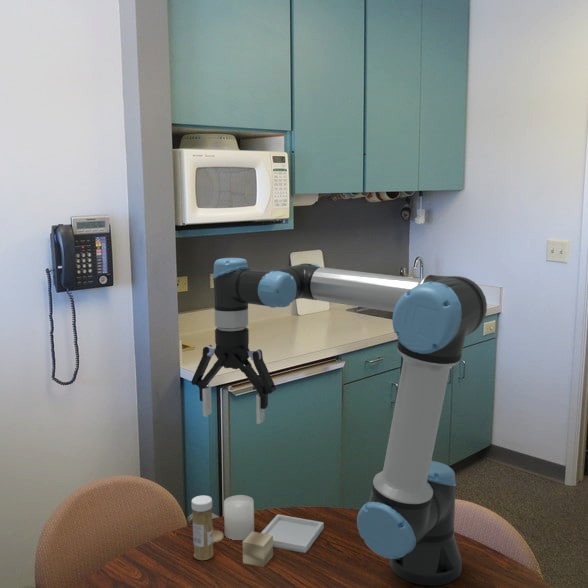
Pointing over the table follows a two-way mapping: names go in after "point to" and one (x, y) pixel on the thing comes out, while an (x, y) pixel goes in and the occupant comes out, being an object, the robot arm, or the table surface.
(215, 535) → the cork coaster
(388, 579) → the table surface
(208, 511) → the sprinkles bottle
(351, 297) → the robot arm
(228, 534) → the frosted white cylinder
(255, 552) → the maple block
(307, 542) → the tray
